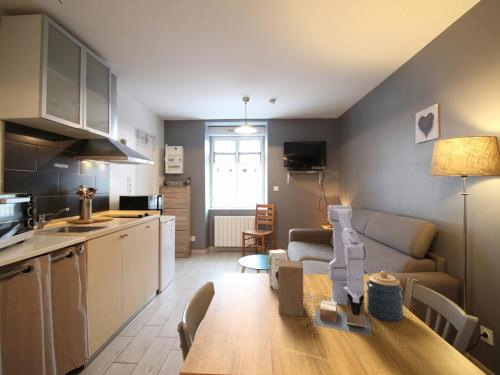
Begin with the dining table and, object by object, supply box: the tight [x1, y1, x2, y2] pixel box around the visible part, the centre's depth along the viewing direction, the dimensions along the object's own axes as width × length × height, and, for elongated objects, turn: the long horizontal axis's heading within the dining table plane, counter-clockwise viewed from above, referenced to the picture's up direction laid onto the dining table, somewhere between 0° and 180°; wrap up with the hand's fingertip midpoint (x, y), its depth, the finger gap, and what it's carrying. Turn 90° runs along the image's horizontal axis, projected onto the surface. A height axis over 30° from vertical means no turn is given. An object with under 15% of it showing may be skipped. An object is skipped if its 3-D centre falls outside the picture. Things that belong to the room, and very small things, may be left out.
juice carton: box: [268, 248, 288, 291], centre depth 126 cm, size 8×9×19 cm
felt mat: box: [312, 307, 373, 337], centre depth 92 cm, size 14×20×1 cm
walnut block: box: [346, 300, 366, 327], centre depth 89 cm, size 4×6×8 cm, turn 67°
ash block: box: [319, 299, 338, 322], centre depth 96 cm, size 4×6×8 cm
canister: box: [365, 270, 404, 323], centre depth 97 cm, size 13×13×18 cm
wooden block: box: [277, 259, 304, 317], centre depth 101 cm, size 10×10×20 cm
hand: (355, 314), depth 87 cm, fingers closed, pressing on walnut block
